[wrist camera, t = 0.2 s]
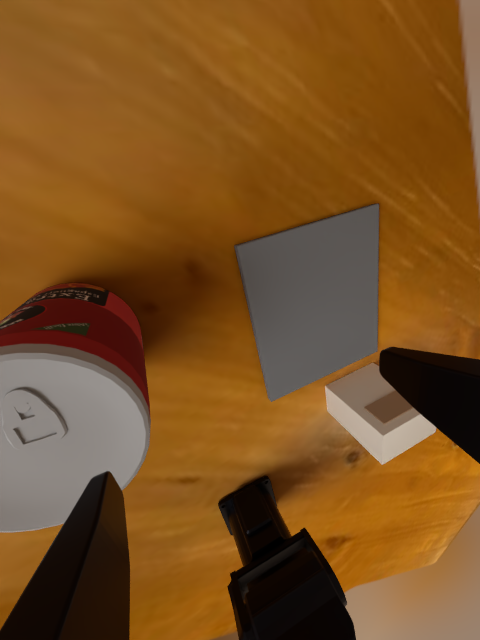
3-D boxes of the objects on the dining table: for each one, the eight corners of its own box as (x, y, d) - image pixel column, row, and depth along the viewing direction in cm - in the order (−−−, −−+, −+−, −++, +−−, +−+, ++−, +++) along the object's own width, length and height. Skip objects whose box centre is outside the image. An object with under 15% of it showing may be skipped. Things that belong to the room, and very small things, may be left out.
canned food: (102, 260, 18) (71, 309, 8) (160, 350, 21) (185, 456, 12) (-15, 313, 16) (-216, 446, 7) (69, 400, 20) (13, 564, 11)
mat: (373, 348, 31) (377, 351, 31) (268, 398, 28) (271, 401, 27) (373, 204, 24) (378, 203, 24) (234, 245, 21) (236, 246, 20)
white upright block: (372, 387, 34) (435, 432, 27) (327, 411, 32) (382, 464, 25) (372, 361, 32) (440, 401, 25) (324, 384, 30) (383, 434, 23)
